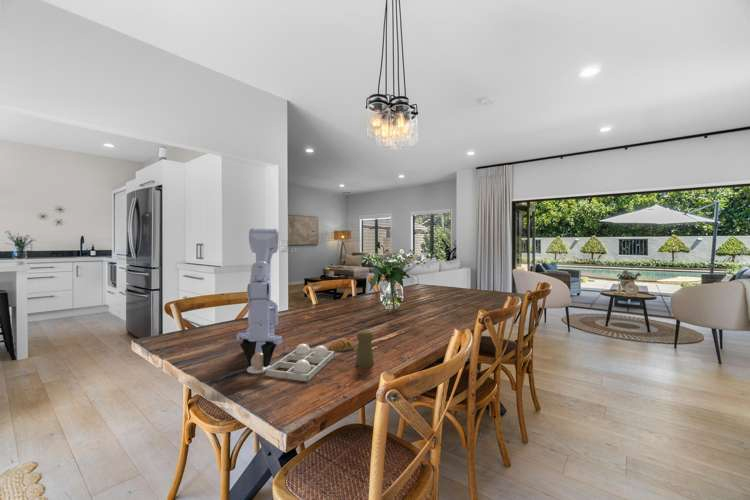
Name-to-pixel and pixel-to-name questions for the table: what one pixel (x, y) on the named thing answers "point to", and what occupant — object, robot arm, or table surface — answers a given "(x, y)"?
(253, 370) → the saucer
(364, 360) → the olive green pepper mill
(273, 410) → the table surface
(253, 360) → the brown egg
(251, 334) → the robot arm
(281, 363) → the egg carton
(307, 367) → the white egg
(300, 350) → the white egg
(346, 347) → the pastry
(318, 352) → the white egg
